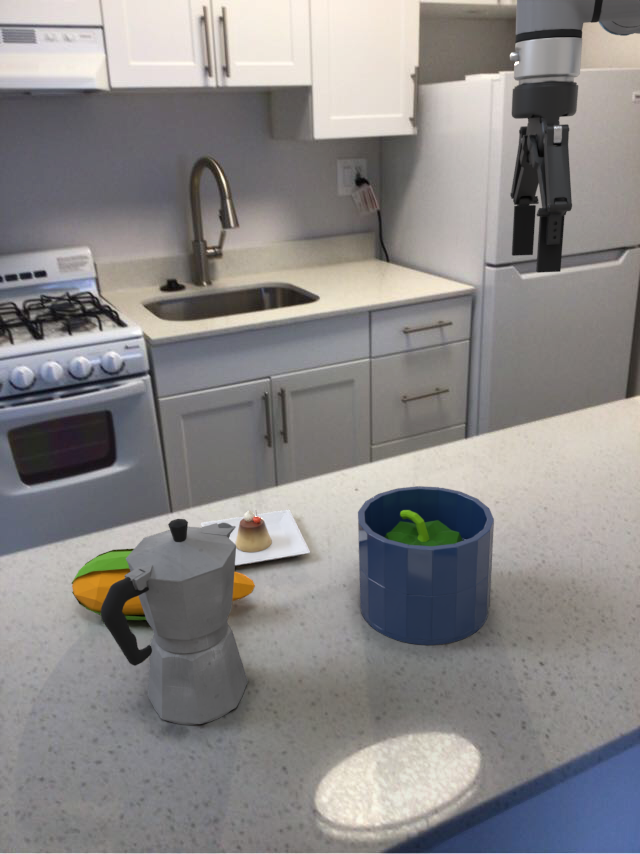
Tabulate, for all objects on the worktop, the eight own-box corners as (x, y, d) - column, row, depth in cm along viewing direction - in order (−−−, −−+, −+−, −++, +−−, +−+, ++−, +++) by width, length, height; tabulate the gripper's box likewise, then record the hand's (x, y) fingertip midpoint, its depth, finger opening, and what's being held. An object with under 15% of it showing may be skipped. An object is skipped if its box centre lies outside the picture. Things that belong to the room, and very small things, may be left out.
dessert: (310, 560, 92) (309, 525, 90) (212, 577, 89) (208, 541, 87) (289, 516, 103) (287, 484, 101) (201, 530, 100) (197, 497, 98)
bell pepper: (477, 603, 81) (481, 521, 77) (415, 629, 77) (416, 543, 74) (429, 568, 88) (430, 491, 84) (370, 590, 84) (368, 510, 81)
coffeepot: (209, 637, 78) (192, 480, 72) (281, 669, 73) (269, 503, 67) (90, 729, 67) (56, 551, 60) (165, 775, 61) (137, 586, 55)
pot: (476, 569, 88) (479, 484, 85) (500, 644, 75) (506, 548, 71) (358, 572, 89) (356, 487, 85) (362, 647, 76) (360, 551, 72)
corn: (79, 533, 84) (257, 532, 83) (91, 589, 87) (263, 589, 86) (54, 573, 77) (247, 573, 76) (68, 632, 81) (254, 633, 79)
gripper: (493, 89, 101) (487, 250, 109) (540, 75, 78) (527, 281, 86) (549, 86, 101) (539, 248, 109) (613, 72, 78) (594, 278, 85)
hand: (534, 263), depth 97 cm, fingers open, 13 cm apart
